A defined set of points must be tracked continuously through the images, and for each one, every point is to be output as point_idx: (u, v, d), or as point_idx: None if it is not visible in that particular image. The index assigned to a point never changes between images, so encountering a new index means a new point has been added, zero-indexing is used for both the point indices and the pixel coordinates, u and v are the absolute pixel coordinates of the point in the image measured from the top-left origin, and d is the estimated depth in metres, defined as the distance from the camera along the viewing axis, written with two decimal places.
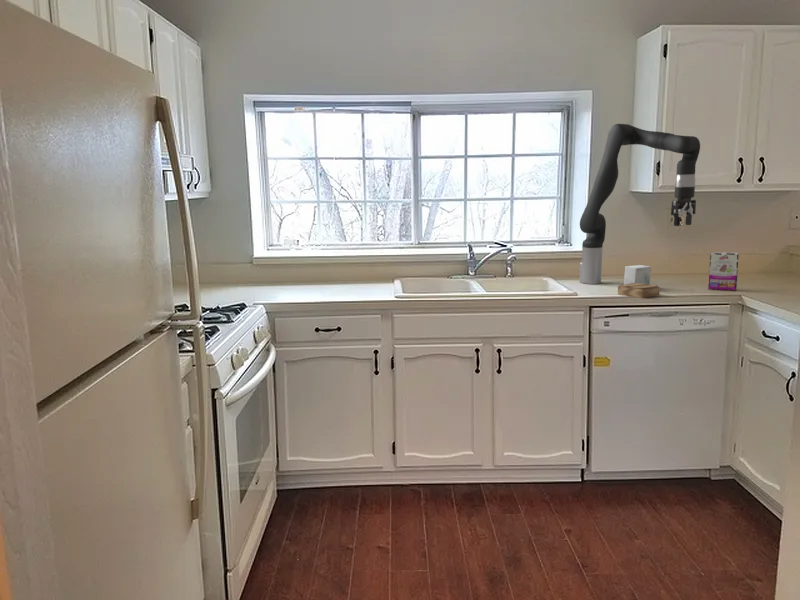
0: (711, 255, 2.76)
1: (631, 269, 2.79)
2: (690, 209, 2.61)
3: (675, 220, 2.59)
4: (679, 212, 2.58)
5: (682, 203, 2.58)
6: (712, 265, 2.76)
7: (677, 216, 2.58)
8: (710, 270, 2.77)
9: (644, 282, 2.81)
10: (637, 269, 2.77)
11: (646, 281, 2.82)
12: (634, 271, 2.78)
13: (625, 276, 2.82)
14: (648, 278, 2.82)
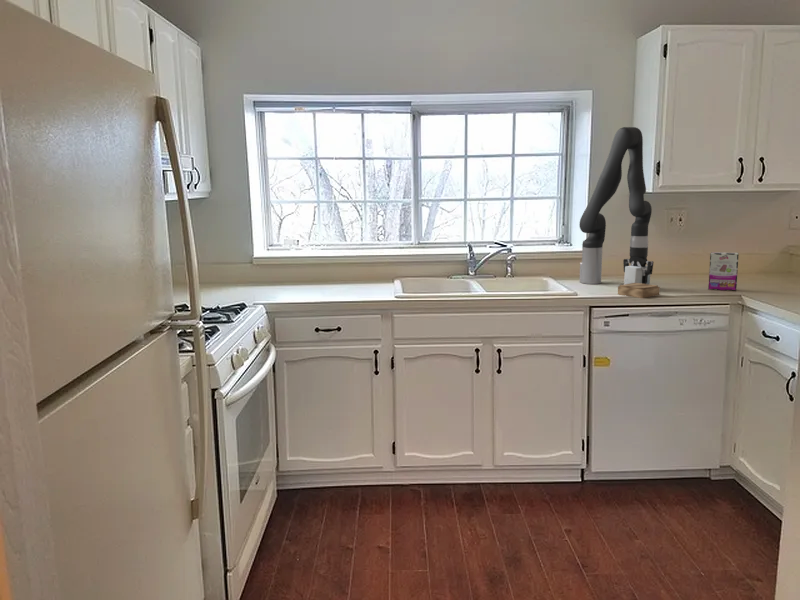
0: (711, 255, 2.76)
1: (631, 269, 2.79)
2: None
3: (646, 279, 2.79)
4: (647, 271, 2.79)
5: None
6: (712, 265, 2.76)
7: (647, 275, 2.79)
8: (710, 270, 2.77)
9: None
10: (637, 269, 2.77)
11: None
12: (634, 271, 2.77)
13: (625, 276, 2.82)
14: (648, 278, 2.82)
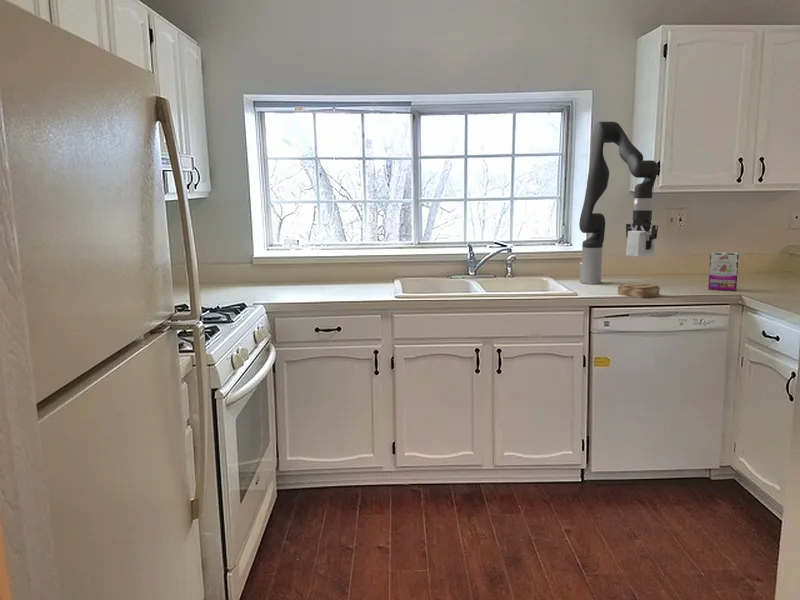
0: (711, 255, 2.76)
1: (634, 233, 2.62)
2: None
3: (650, 244, 2.62)
4: (651, 236, 2.63)
5: None
6: (712, 265, 2.76)
7: (651, 240, 2.62)
8: (710, 270, 2.77)
9: None
10: (641, 233, 2.60)
11: None
12: (638, 235, 2.61)
13: (628, 241, 2.65)
14: (652, 243, 2.65)
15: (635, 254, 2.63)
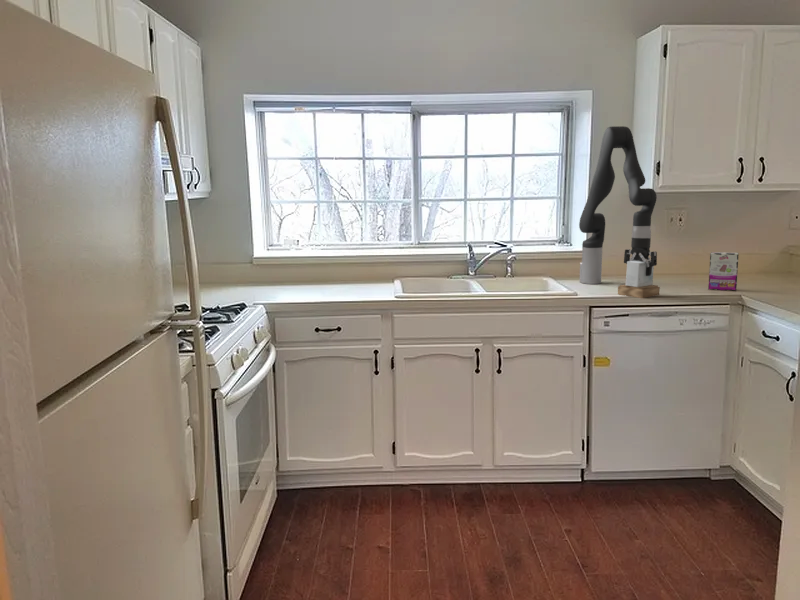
0: (711, 255, 2.76)
1: (634, 264, 2.64)
2: None
3: (650, 270, 2.63)
4: (651, 262, 2.64)
5: None
6: (712, 265, 2.76)
7: (652, 266, 2.64)
8: (710, 270, 2.77)
9: (648, 278, 2.66)
10: (640, 264, 2.62)
11: (649, 276, 2.67)
12: (637, 266, 2.63)
13: (627, 272, 2.67)
14: (651, 274, 2.67)
15: (634, 284, 2.65)
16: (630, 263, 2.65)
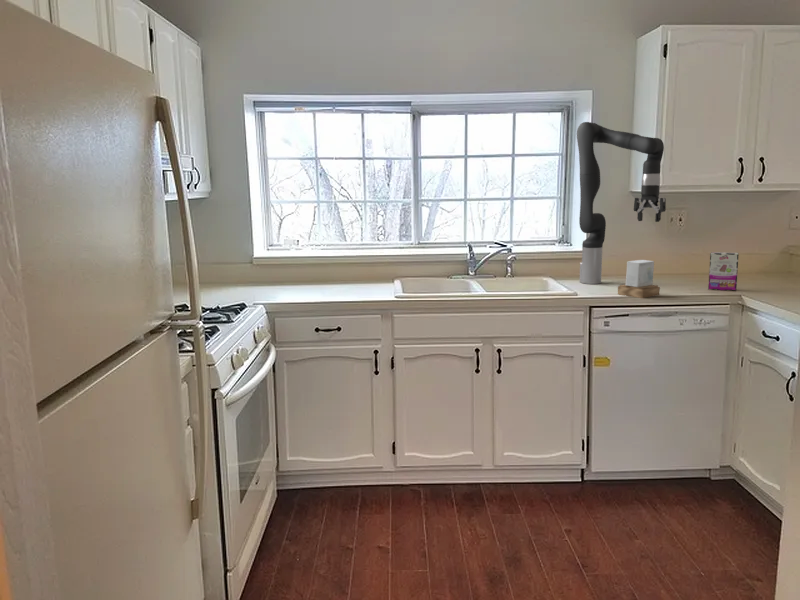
0: (711, 255, 2.76)
1: (634, 264, 2.64)
2: None
3: (659, 216, 2.76)
4: (660, 208, 2.76)
5: None
6: (712, 265, 2.76)
7: (661, 212, 2.76)
8: (710, 270, 2.77)
9: (648, 278, 2.66)
10: (640, 264, 2.62)
11: (649, 276, 2.67)
12: (637, 266, 2.63)
13: (627, 272, 2.67)
14: (651, 274, 2.67)
15: (634, 284, 2.65)
16: (630, 263, 2.65)
